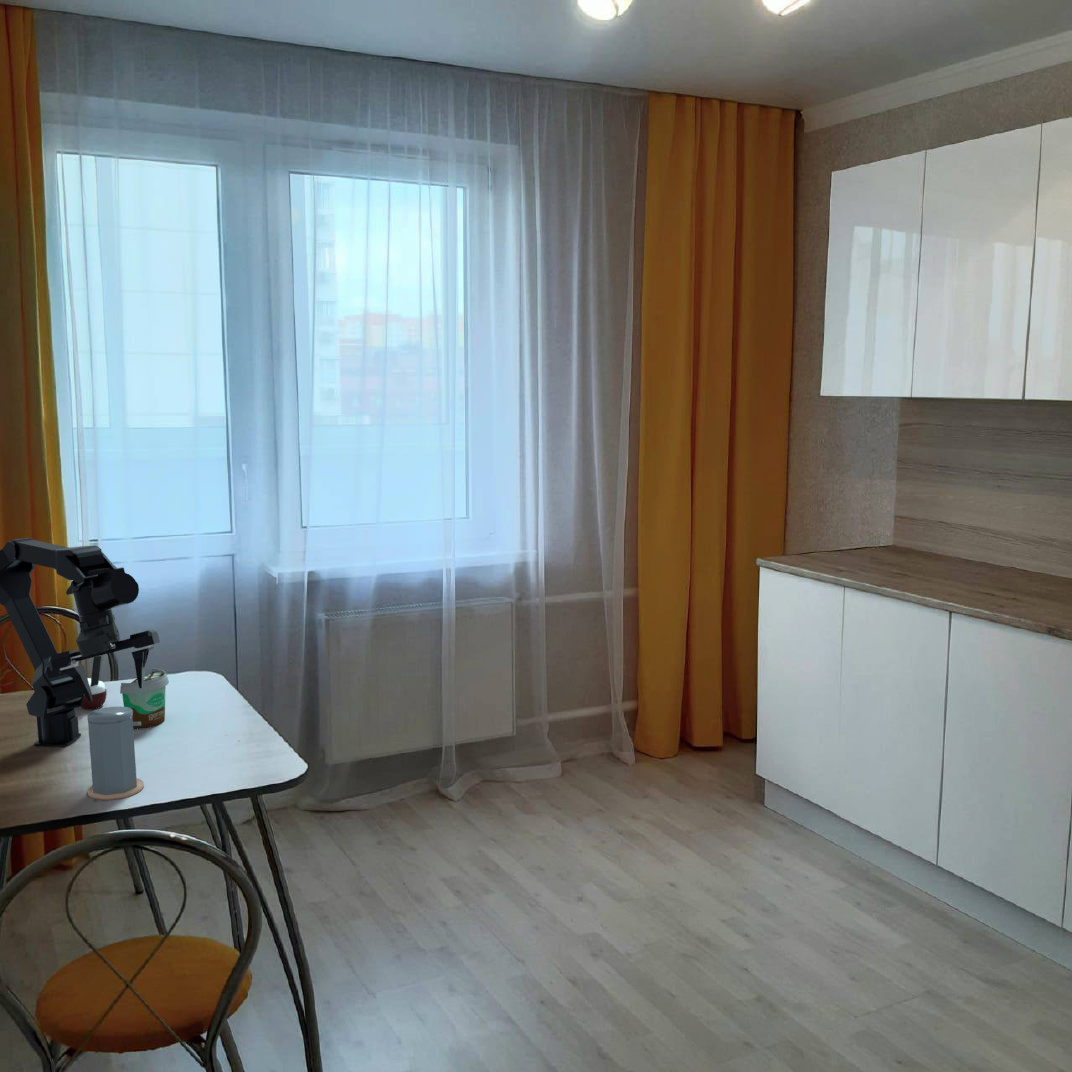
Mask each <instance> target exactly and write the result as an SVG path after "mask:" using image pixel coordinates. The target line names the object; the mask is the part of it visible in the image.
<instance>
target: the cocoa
mask: <svg viewBox="0 0 1072 1072" xmlns="http://www.w3.org/2000/svg"><path fill="white" fill-rule="evenodd" d="M102 657H103V656H102V655H100V656H96V657H93V661H92V662H93V663H92V670H91V677H90V678H89V677H87V679H88V682H89V686H90V689H91V692H92V699H93V701H91V702H89V701H88V699H87V698H86V696H85V695H84V697H83V702H82V707H80V708H81V709H83V710H90V711H91V710H97V709H100V708H101V707H102V706H103V705H104V704H105V703H106V699H107V689H106V685H105V683H104V681H101V680H100V673H101V666H102V665H101V664H102Z"/></svg>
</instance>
